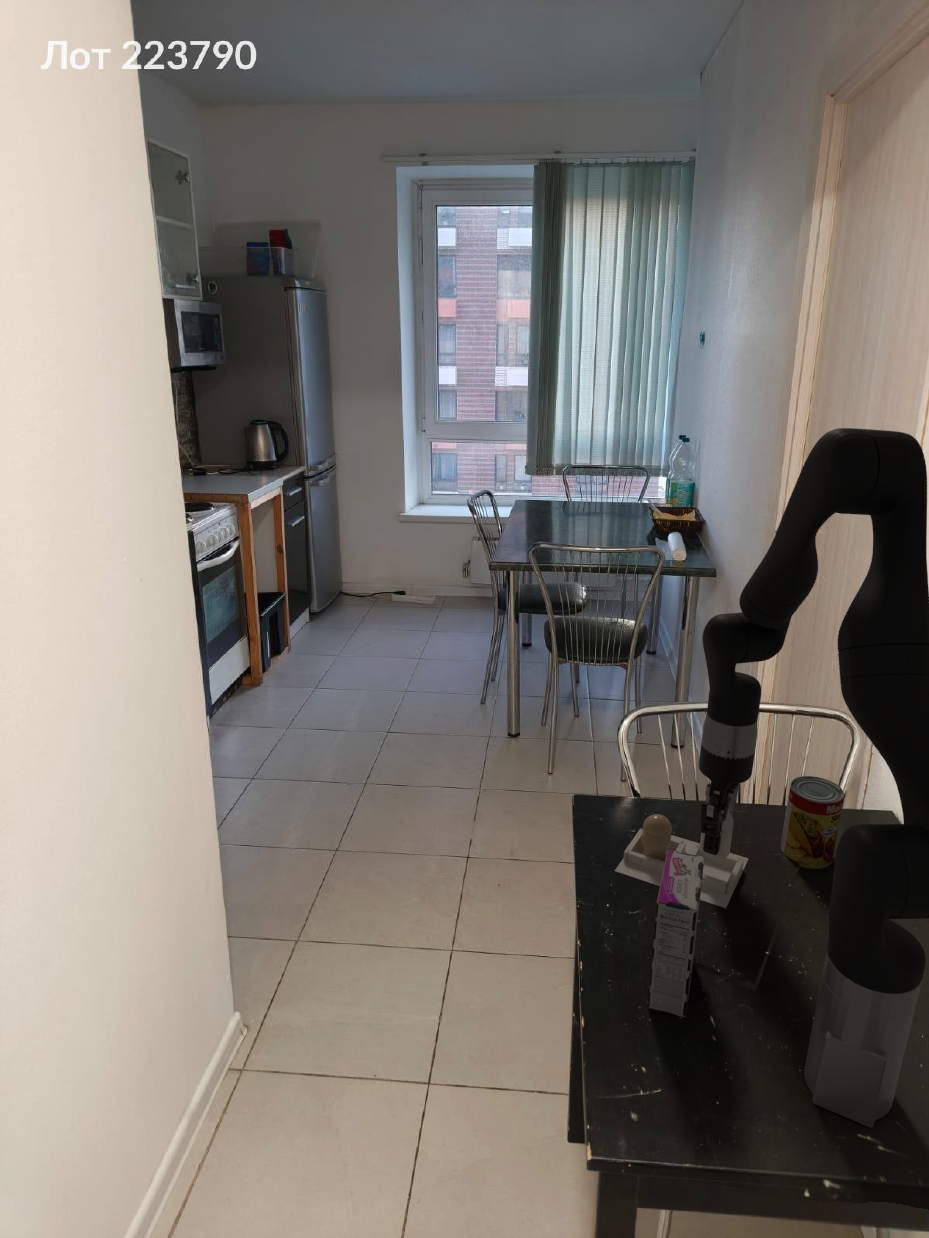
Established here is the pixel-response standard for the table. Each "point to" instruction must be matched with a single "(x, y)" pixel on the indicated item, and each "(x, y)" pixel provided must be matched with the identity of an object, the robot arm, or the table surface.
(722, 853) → the white capsule
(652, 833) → the tan capsule
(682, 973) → the candy bar box
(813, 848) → the canned food
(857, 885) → the robot arm
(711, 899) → the white holder tray
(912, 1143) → the table surface
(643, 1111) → the table surface
